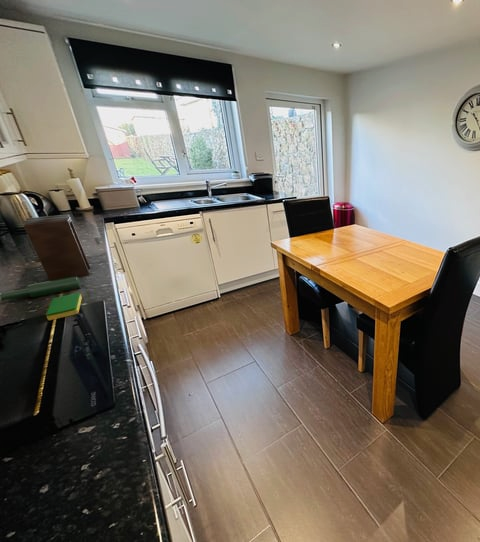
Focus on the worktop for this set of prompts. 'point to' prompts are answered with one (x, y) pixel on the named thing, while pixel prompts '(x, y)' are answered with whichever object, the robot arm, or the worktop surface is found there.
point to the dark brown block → (57, 246)
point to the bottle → (44, 288)
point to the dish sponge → (64, 306)
